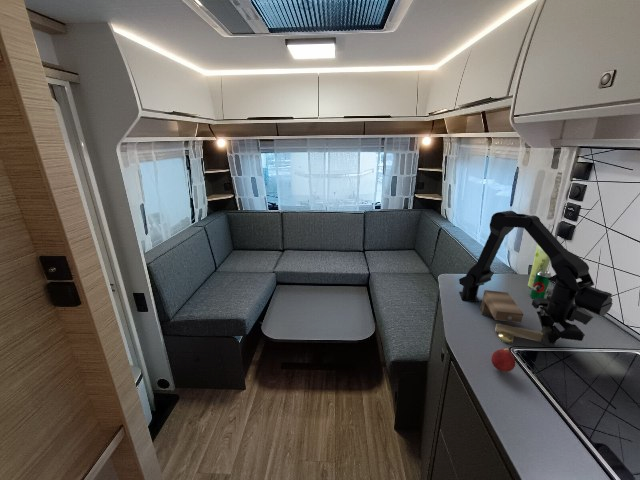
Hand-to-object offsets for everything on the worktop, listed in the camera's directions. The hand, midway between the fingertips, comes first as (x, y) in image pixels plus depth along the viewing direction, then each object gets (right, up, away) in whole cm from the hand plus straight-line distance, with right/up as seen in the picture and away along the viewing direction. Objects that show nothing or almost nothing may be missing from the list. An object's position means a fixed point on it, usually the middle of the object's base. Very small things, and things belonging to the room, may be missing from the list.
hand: (548, 339), depth 95 cm
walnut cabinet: (-10, +2, +11) cm, 15 cm away
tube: (+21, +11, +36) cm, 43 cm away
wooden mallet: (-6, 0, +3) cm, 7 cm away
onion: (-22, -6, -10) cm, 25 cm away
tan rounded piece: (-12, -1, +3) cm, 13 cm away
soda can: (+16, +8, +27) cm, 33 cm away
